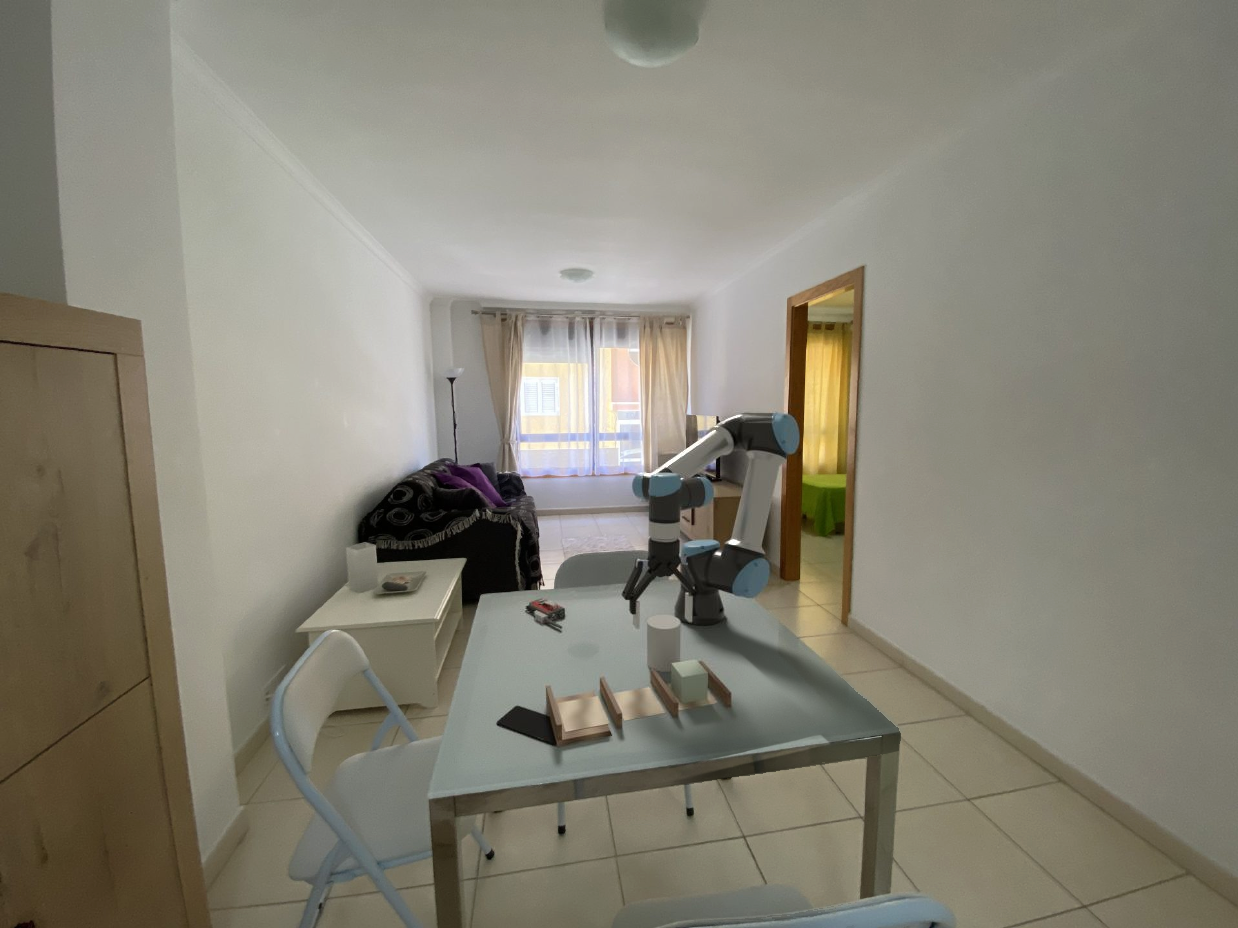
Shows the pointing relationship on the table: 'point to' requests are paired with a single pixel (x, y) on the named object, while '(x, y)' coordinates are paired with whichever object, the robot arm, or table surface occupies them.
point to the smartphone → (529, 724)
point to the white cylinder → (663, 642)
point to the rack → (619, 707)
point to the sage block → (689, 681)
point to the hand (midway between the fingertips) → (662, 623)
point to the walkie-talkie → (546, 611)
